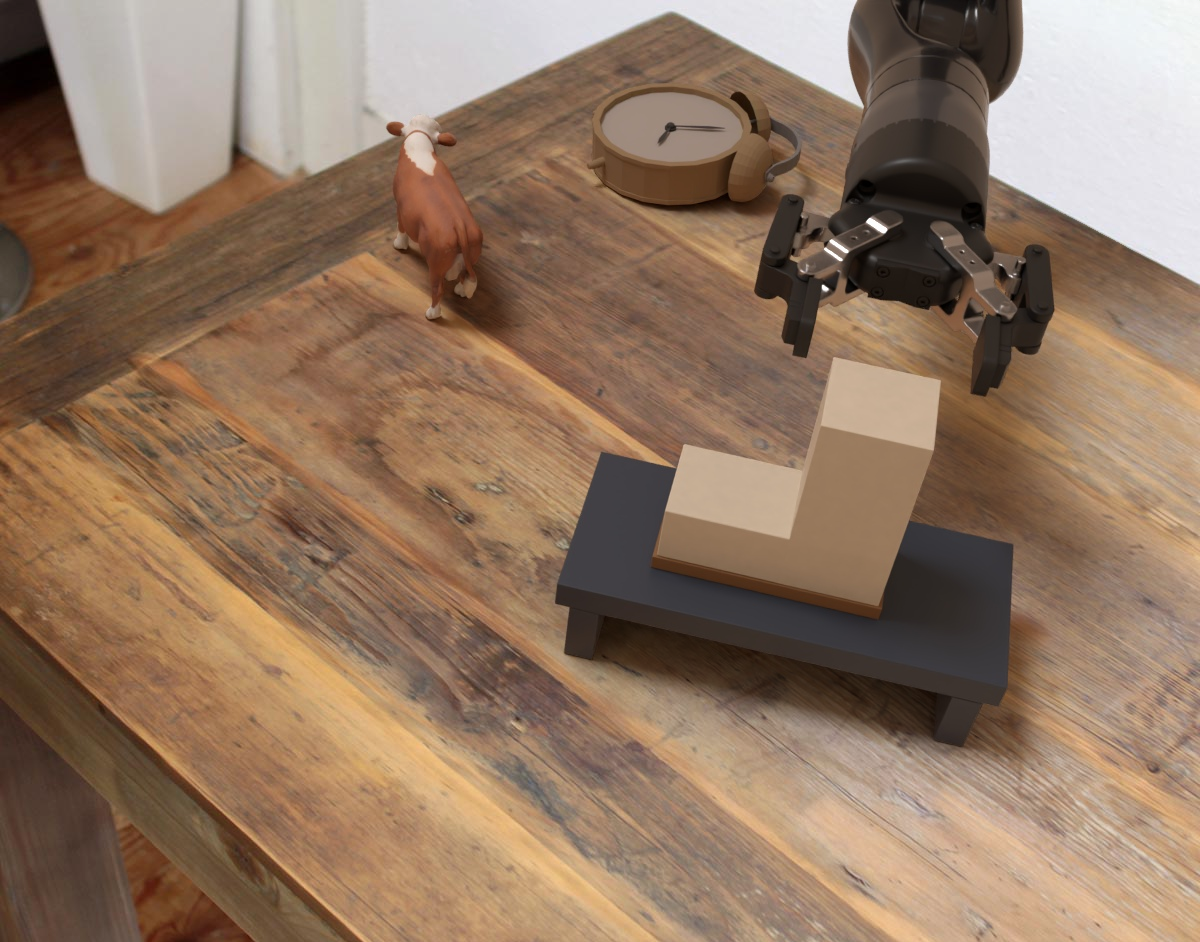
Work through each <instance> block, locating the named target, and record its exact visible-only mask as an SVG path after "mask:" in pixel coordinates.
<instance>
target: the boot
mask: <svg viewBox="0 0 1200 942" xmlns="http://www.w3.org/2000/svg"><path fill="white" fill-rule="evenodd" d="M941 385H942V380H941V379H937V378H932V377H927V376H924V375H923V376H922V375H918V374H914V373H909V372H905V371H901V370H895V369H891V368H886V367H882V366H877V365H873V364H869V363H863V362H860V361H859V362H858V361H855V360H849V359H846V358H840V357H837V356H834V357H832V361H831V364H830V367H829V372H828V376H827V378H826V383H825V387H824V390H823V394H822V398H821V401H820V405H819V407H818V413H817V416H816V420H815V423H814V427H813V430H812V434H811V438H810V442H809V446H808V449H807V453H806V456H805V460H804V463H803V466H802V469H797V468H793V467H788V466H785V465H784V466H783V465H780V464H775V463H771V462H766V461H763V460H758V459H753V458H750V457H749V458H748V457H745V456H739V455H735V454H731V453H726V452H722V451H718V450H713V449H709V448H705V447H700V446H696V445H692V444H687V443H684V444H683V445H682V448H681V452H680V457H679V460H678V463H677V467H676V468H677V470H676V474H675V477H674V481H673V484H672V488H671V491H670V495H669V499H668V502H667V506H666V509H665V513H664V517H663V520H662V524H661V527H660V531H659V534H658V538H657V541H656V545H655V549H654V552H653V556H652V561H651V567H652V568H657V569H661V570H665V571H670V572H674V573H678V574H683V575H687V576H691V577H696V578H700V579H704V580H709V581H713V582H717V583H721V584H726V585H730V586H734V587H739V588H743V589H747V590H752V591H756V592H760V593H765V594H769V595H773V596H778V597H782V598H786V599H791V600H795V601H799V602H804V603H808V604H812V605H817V606H821V607H825V608H830V609H834V610H838V611H842V612H847V613H851V614H855V615H860V616H864V617H868V618H873V619H877V620H878V619H879V616H880V613H881V611H882V605H883V597H884V589H885V586H886V583H887V581H888V578H889V575H890V572H891V569H892V567H893V564H894V561H895V558H896V555H897V553H898V550H899V547H900V544H901V541H902V539H903V536H904V533H905V530H906V527H907V525H908V522H909V521H910V520H911V516H912V513H913V510H914V508H915V504H916V502H917V499H918V496H919V493H920V491H921V489H922V485H923V484H924V483H923V482H924V480H925V478H926V477H925V476H926V474H927V472H928V468H929V465H930V463H931V460H932V457H933V455H934V451H935V447H936V446H935V444H936V435H937V426H938V416H939V407H940V397H941V387H942V386H941Z"/></svg>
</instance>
